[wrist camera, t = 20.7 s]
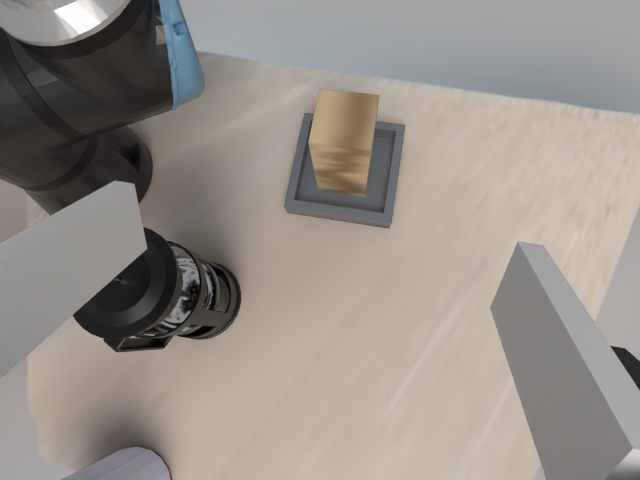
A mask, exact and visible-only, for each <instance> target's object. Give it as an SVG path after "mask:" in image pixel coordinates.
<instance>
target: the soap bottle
mask: <svg viewBox="0 0 640 480" xmlns="http://www.w3.org/2000/svg"><path fill="white" fill-rule="evenodd" d="M62 480H171V479H170V474H169V470H168V468H167V467H166V465H165V464H164V462H163V460H162V459H161V458H160V457H159V456H158V455H156V454H155V453H154V452H152V451H151V450H149V449H145V448H141V447H131V448H125V449H121V450H119V451H117V452H116V453H114V454H112V455H110V456H108V457H106V458H104V459H102V460H100V461H98V462H96V463H94V464H92V465H90V466H88V467H86V468H84V469H82V470H80V471H78V472H76V473H74V474H72V475H70V476H68V477H66V478H64V479H62Z"/></svg>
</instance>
